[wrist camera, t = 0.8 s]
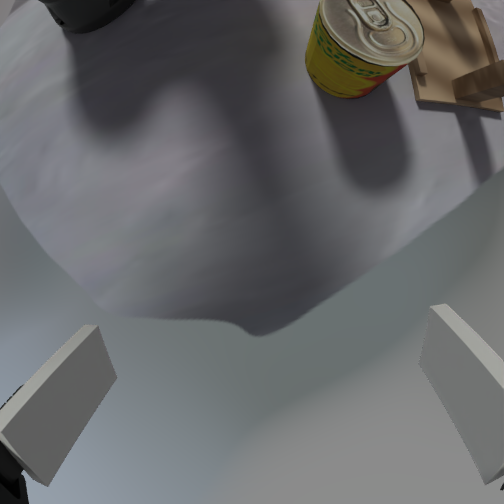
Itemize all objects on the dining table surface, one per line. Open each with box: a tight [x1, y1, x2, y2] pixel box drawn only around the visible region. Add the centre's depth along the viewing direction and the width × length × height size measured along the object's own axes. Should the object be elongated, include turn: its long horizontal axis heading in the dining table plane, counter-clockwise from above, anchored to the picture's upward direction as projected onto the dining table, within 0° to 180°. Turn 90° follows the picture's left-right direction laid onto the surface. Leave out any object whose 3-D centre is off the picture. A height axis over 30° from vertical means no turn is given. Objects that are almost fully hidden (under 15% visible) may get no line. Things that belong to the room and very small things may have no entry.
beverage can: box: [305, 0, 425, 99], centre depth 22 cm, size 9×9×12 cm
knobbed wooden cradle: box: [406, 0, 504, 112], centre depth 18 cm, size 19×15×14 cm
